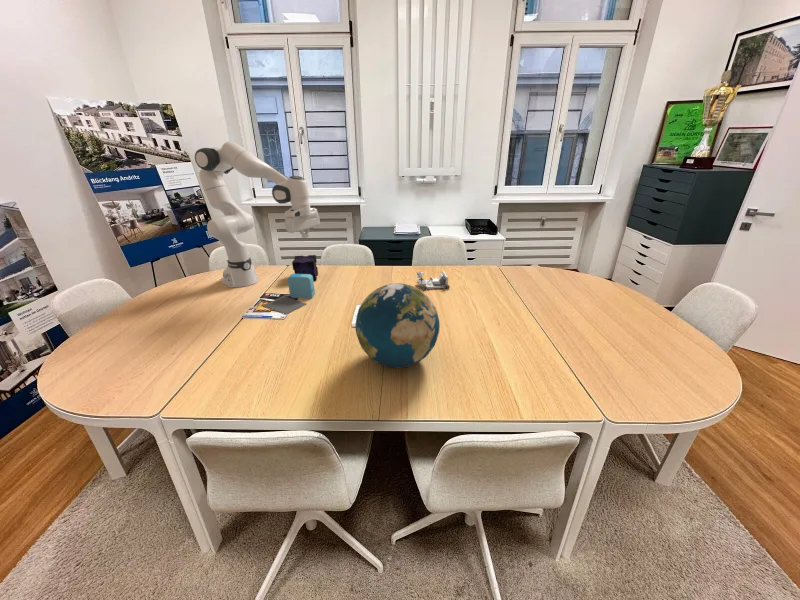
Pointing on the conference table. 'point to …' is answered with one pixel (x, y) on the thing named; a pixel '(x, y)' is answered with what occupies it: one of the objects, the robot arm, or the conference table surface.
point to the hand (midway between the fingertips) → (305, 237)
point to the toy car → (433, 281)
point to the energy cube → (305, 265)
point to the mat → (284, 305)
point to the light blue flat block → (301, 286)
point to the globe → (397, 325)
